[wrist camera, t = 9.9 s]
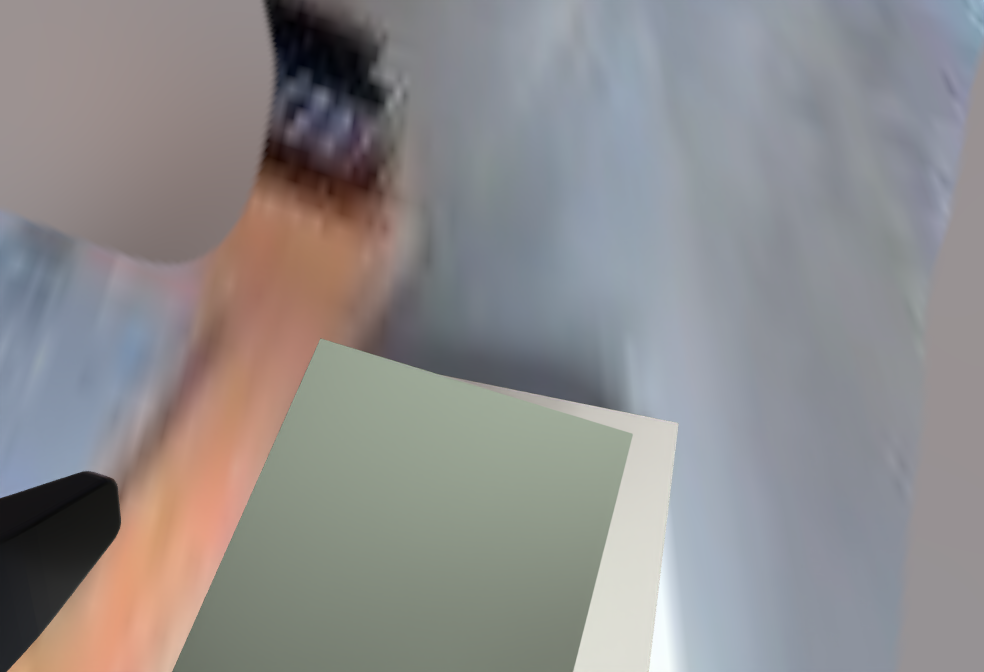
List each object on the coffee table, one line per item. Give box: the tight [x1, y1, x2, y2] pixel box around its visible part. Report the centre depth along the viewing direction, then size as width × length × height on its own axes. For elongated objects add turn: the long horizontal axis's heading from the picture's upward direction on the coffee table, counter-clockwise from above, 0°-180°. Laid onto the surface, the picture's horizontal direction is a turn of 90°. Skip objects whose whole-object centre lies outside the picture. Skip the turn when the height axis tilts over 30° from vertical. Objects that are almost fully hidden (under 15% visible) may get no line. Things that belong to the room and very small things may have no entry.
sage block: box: [172, 339, 633, 672], centre depth 12 cm, size 4×4×9 cm
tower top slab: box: [442, 375, 678, 672], centre depth 17 cm, size 10×10×2 cm
